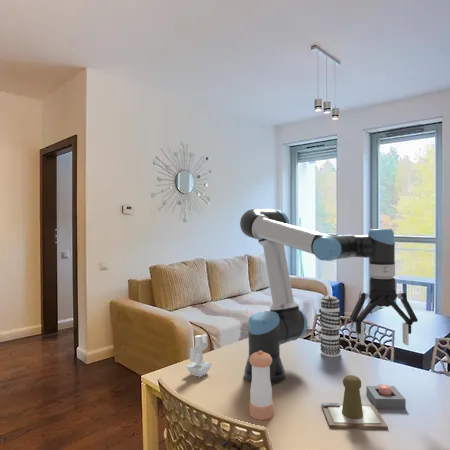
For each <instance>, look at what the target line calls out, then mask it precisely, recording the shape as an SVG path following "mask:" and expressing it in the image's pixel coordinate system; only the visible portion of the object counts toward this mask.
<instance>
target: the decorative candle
mask: <svg viewBox="0 0 450 450" xmlns="http://www.w3.org/2000/svg"><path fill="white" fill-rule="evenodd" d="M339 306H340V299H338V298H337V297H336V296H333V295H324V296H323V297H322V298H321V299H320V308H319V310H318V312H319V321H320V322H319V325H320V328H321V333H320V341H319V342H320V355H322V356H324V357H329V358H335V357H336V358H337V357H340V356H341V350H342V349H341V342H340V341H341V337H340V329H341V326H340V325H341V319H340V318H341V312H342V311H340V307H339Z"/></svg>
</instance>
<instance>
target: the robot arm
mask: <svg viewBox="0 0 450 450" xmlns="http://www.w3.org/2000/svg"><path fill="white" fill-rule="evenodd" d="M239 228H240V229H241V231H242V233H243V234H244V236H246V237H248V238H252V239H255V240H258V241H257V242H258V243H259V245H261V246H262V248H263V255H264V259H265V265H266V271H267V277H268V282H269V289H270V290H269V291H270V295H271V300H272V302H271V303H272V304H271V307H270V308H269V311H268V310H264V311H258V312H255V313H253V314H251V316H250V317H249V319H248V326H247V332H248V334H247V336H248V357H247V360H246V364H245V367H244V378H245V380H247V381H248V382H250V383H251V382H252V365H251V364H250V362H249V358H250V356H251V354H253V353H255V352H258V351H263V352H265V353H268V354H269V355H270V356H271V357H272V363H271V365H270V382H271V385H275V384H280V383H282V382H283V381H284V380H285V378H286V376H285V375H286V374H285V373H286V372H285V368H284V364H283V362H282V358H281V356H280V352H281V351H280V350H281V349H280V347H281V345H283V344H286V343H289V342H291V341H296V340H298V339H300V338H301V337H303V336H304V335H305V333H306V332H307V330H308V318H307V316H306V314H305V313H304V311H302V310H301V309H300V305H299V304H298V303H297V302H296V301H295V299H294V295H293V288H292V283H291V277H290V272H289V266H288V262H287V261H288V260H287V255H286V250H285V247H286V246H287V247H290V248H293V249H296V250H299V251H302V252H305V253H308V254H311V255H314V256H315V257H316V259H318V260H320V261H326V262H330V261H331V262H332V261H335V260H340V259H349V258H368V260H369V261H368V262H369V263H368V264H369V276H370V277H369V292H363V291H360V292H359V294H358V295H359V296H358V300H357V302H356V304H355V306H354V308H353V310H352V312H351V314H350V316H349V320H350V321H351V322H353V323H355V330H356V333H357V334H359V336H358V337H359V343H360V345H362V346H364V345H365V324H364V323H363V322H364V320H366V318H367V317H368V316H369V314H370V313H372V311H373V310H374V309H375V308H376V307H379V308H382V307H387V308H388V307H389V308H390V307H392V308H393V309H394V311H396V313H397V314H398V315H399V316H400V317H401V318H402V319H403V321H402V324H401V326H402V327H401V328H402V343H403V344H404V345H405V346H409V345H410V344H409V343H410V341H409V335H410V334H412V325H413V324H414V323H418V321H419V320H418V318H417V316H416V314H415V312H414V310H413V308H412V306H411V305H410V303H409V301H408V298H407V293H405V292H404V291H402V290H401V291H399V292H396V279H395V276H396V259H395V258H396V255H395V254H396V253H395V251H396V250H395V245H396V242H395V234H394V230H393V229H391V228H370V229H369V230H368V234H339V235H331V234H328V233H327V234H326V233H322V232H319V231H315V230H311V229H308V228H303V227H301V226H297V225H294V224H290V220H289V218H288V216H287V214H286V213H285V212H283V211H282V210H279V209H275V208H252V209H248V210H247V211H245V212H244V213H243V214H242V216H241V217H240V221H239ZM368 298H369V299H370V301H369V302H368V303H367V305H366V306H365V308H364V309H363V310H362V308H363V306H364V304H365V301H366V300H367V299H368ZM397 298H398V299H399V300H400V301H401V303H402V305H403V307H404V309H405V311H406V313H407V314H406V313H405V312H404V311H403V310H402V309H401V308H400V307H399V305H398V304H397V303H396V302H395V300H396V299H397Z"/></svg>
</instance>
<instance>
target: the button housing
mask: <svg viewBox="0 0 450 450" xmlns="http://www.w3.org/2000/svg"><path fill="white" fill-rule="evenodd" d="M365 386H366V387H365V389H366V396H367V398H368V399H369V401H370V402H371V405H374V406H375V408H376V409H388V410H392V409H393V410H394V409H396V410H406V403H407V401H406V400H407V399H406V398H405V397H404V396H403V395H402V394H401V392H400V391H399V390H398V389H397V388H396V387H395V386H394V385H390V386H391V388H392V396H381V395H379V385H365Z"/></svg>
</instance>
